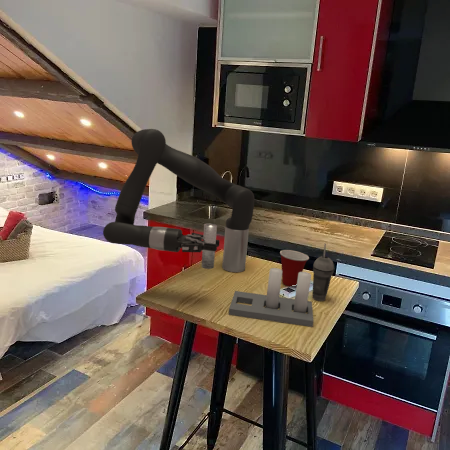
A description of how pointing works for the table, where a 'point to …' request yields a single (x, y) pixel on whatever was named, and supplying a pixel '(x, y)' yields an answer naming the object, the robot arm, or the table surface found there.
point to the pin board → (276, 302)
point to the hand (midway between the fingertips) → (217, 245)
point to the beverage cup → (322, 276)
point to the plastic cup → (292, 266)
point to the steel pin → (210, 237)
